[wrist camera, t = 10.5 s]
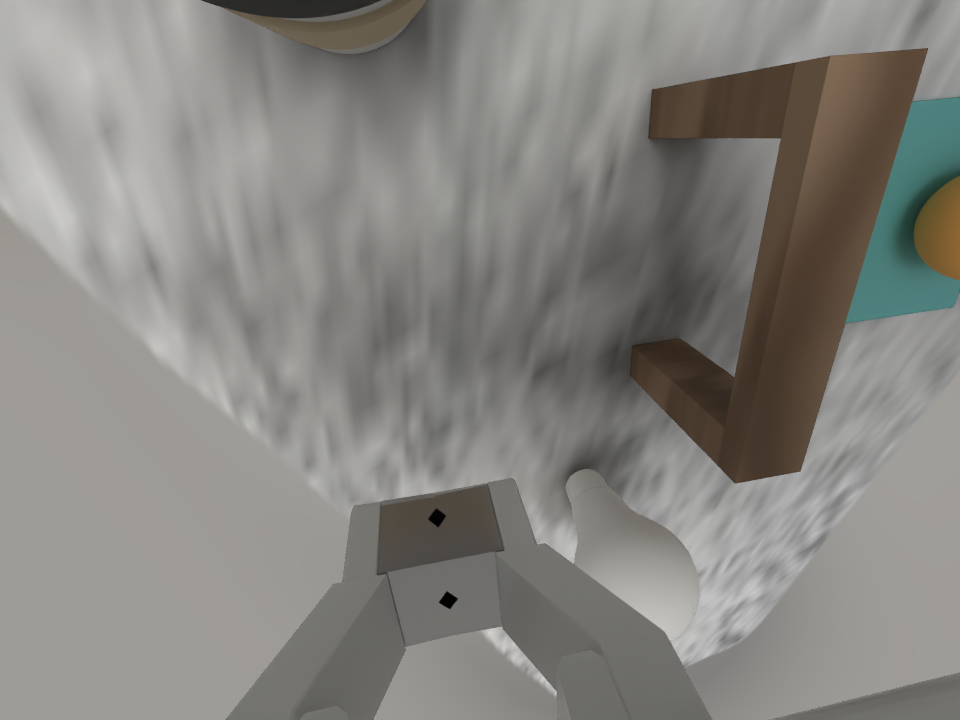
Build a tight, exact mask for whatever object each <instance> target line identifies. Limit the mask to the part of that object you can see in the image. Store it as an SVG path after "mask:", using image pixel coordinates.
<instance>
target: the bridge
mask: <svg viewBox="0 0 960 720" xmlns="http://www.w3.org/2000/svg"><path fill="white" fill-rule="evenodd" d="M927 51H928V48H924V49H912V50H899V51H887V52H874V53H862V54H849V55H837V56H828V57H822V58H817V59H812V60H807V61H801V62H796V63H791V64H785V65H780V66H775V67H770V68H764V69H759V70H754V71H748V72H743V73H738V74H732V75H727V76H722V77H717V78H711V79H706V80H701V81H695V82H690V83H685V84H680V85H674V86H669V87H664V88H658V89H653V90H652V101H651V114H650V127H649V138H781V141H780V146H779V151H778V157H777V162H776V167H775V172H774V177H773V182H772V187H771V192H770V198H769V203H768V208H767V213H766V218H765V223H764V228H763V233H762V239H761V244H760V249H759V254H758V259H757V264H756V269H755V275H754V280H753V285H752V290H751V295H750V300H749V305H748V310H747V316H746V321H745V326H744V331H743V336H742V341H741V346H740V351H739V357H738V362H737V367H736V372H735V377H733V376H732V375H730V374H729V373H728V372H726V371H725V370H723V369H722V368H721V367H719V366H718V365H716V364H715V363H714V362H712V361H711V360H709V359H708V358H707V357H705V356H704V355H702V354H701V353H700V352H698V351H697V350H695V349H694V348H693V347H691V346H690V345H688V344H687V343H686V342H684V341H683V340H681V339H676V340H669V341H662V342H656V343H649V344H642V345H635V346H633V347H632V360H631V373H630V376H631V377H632V378H633V379H634V380H635V381H636V382H637V383H638V384H639V385H640V386H641V387H642V388H643V389H644V390H645V391H646V392H647V393H648V394H649V395H650V396H651V397H652V399H653V400H654V401H655V402H656V403H657V404H658V405H659V406H660V407H661V408H662V409H663V410H664V411H665V412H666V413H667V414H668V415H669V416H670V417H671V418H672V419H673V420H674V421H675V422H676V423H677V424H678V425H679V426H680V427H681V428H682V429H683V430H684V431H685V432H686V433H687V435H688V436H689V437H690V438H691V439H692V440H693V441H694V442H695V443H696V444H697V445H698V446H699V447H700V448H701V449H702V450H703V451H704V452H705V453H706V454H707V455H708V456H709V457H710V458H711V459H712V460H713V461H714V462H715V463H716V464H717V465H718V466H719V467H720V468H721V469H722V470H723V472H724V473H725V474H726V475H727V476H728V477H729V478H730V479H731V480H732V481H733V482H734V483H741V482H746V481H751V480H757V479H762V478H767V477H773V476H778V475H784V474H789V473H794V472H800V471H801V468H802V465H803V461H804V458H805V455H806V452H807V448H808V445H809V442H810V438H811V435H812V432H813V428H814V425H815V422H816V418H817V415H818V412H819V408H820V405H821V402H822V399H823V395H824V392H825V389H826V385H827V382H828V379H829V375H830V372H831V369H832V365H833V362H834V359H835V355H836V352H837V349H838V346H839V342H840V339H841V336H842V332H843V329H844V326H845V322H846V319H847V316H848V312H849V309H850V306H851V302H852V299H853V296H854V293H855V289H856V286H857V283H858V279H859V276H860V273H861V269H862V266H863V263H864V259H865V256H866V253H867V249H868V246H869V243H870V239H871V236H872V233H873V230H874V226H875V223H876V220H877V216H878V213H879V210H880V206H881V203H882V200H883V196H884V193H885V190H886V186H887V183H888V180H889V177H890V173H891V170H892V167H893V163H894V160H895V157H896V153H897V150H898V147H899V143H900V140H901V137H902V133H903V130H904V127H905V124H906V120H907V117H908V114H909V110H910V107H911V104H912V100H913V97H914V94H915V90H916V87H917V84H918V80H919V77H920V74H921V71H922V67H923V64H924V61H925V57H926V54H927Z"/></svg>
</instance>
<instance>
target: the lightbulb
mask: <svg viewBox="0 0 960 720" xmlns="http://www.w3.org/2000/svg"><path fill="white" fill-rule="evenodd" d="M566 492H567V495H568V498H569V500H570V504H571V505H572V516H573V519H574V522H575V525H576V529H577V534H578V544H577V548H576V553H575V561H574V565H575V566H577V567H578V568H579V569H581V570H582V571H583V572H585V573H586V574H587V575H589V576H590V577H592V578H593V579H594V580H596V581H597V582H598V583H600V584H601V585H602V586H604V587H605V588H606V589H608V590H609V591H610V592H612V593H613V594H615V595H616V596H617V597H619V598H620V599H621V600H623V601H624V602H625V603H627V604H628V605H629V606H631V607H632V608H633V609H635V610H636V611H638V612H639V613H640V614H642V615H643V616H644V617H646V618H647V619H648V620H650V621H651V622H652V623H654V624H655V625H656V626H658V627H659V628H661V629H662V630H663V631H665V633H666V635H667V637H668V639H669V641H670V642H671V641H672V640H674V639H676V638H677V637H678V636H680V635H681V634H682V633H683V632H684V631H685V630H686V629H687V627H688V626H689V625H690V623H691V621H692V620H693V618H694V616H695V614H696V610H697V606H698V601H699V579H698V575H697V571H696V568H695V565H694V563H693V561H692V558H691V556H690V554H689V552H688V550H687V549H686V548H685V546H684V545H683V544H682V542H681V541H680V540H679V539H678V538H677V537H676V536H675V535H674V534H673V533H672V532H670V531H669V530H668V529H666V528H665V527H663V526H662V525H660V524H658V523H656V522H654V521H653V520H651V519H649V518H647V517H644V516H642V515H640V514H637V513H636V512H634V511H633V510H632V509H630V508H629V507H628V506H627V505H626V504H625V503H624V502H623V500H622V499H621V498H620V496H619V495H618V494H617V493H616V492H615V491H614V490H612V489H610V487H609V486H608V485H607V483H606V482H605V480H604V479H603V477H602V476H601V475H600V474H599V473H598V472H597V471H595V470H591V469H583V470H579V471H577V472H575V473H574V474H572V475H571V476H570V478H569V479H568V481H567V483H566Z"/></svg>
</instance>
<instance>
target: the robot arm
mask: <svg viewBox="0 0 960 720" xmlns="http://www.w3.org/2000/svg"><path fill="white" fill-rule="evenodd" d="M502 626H503V630H504V631H505V632H506V633H507V634H508V635H509V637H510V638H511V639H512V640H513V641H514V642H515V644H516V645H517V646H518V647H519V648H520V649H521V651H522V652H523V653H524V654H525V655H526V656H527V657H528V659H529V660H530V661H531V662H532V663H533V664H534V666H535V667H536V668H537V669H538V670H539V671H540V673H541V674H542V675H543V676H544V677H545V678H546V679H547V681H548V682H549V683H550V684H551V685H552V686H553V688H554V689H555V690H556V691H557V720H712V718H711V716H710V715H709V713H708V711H707V709H706V707H705V705H704V703H703V702H702V700H701V698H700V696H699V694H698V692H697V691H696V689H695V687H694V685H693V683H692V681H691V679H690V678H689V676H688V674H687V672H686V670H685V668H684V666H683V665H682V663H681V661H680V659H679V657H678V655H677V653H676V652H675V650H674V648H673V646H672V644H671V642H670V641H669V639H668V637H667V635H666V633H665V631H663V630H662V629H661V628H659V627H658V626H656V625H655V624H654V623H652V622H651V621H650V620H648V619H647V618H646V617H644V616H643V615H642V614H640V613H639V612H638V611H636V610H635V609H633V608H632V607H631V606H629V605H628V604H627V603H625V602H624V601H623V600H621V599H620V598H619V597H617V596H616V595H615V594H613V593H612V592H610V591H609V590H608V589H606V588H605V587H604V586H602V585H601V584H600V583H598V582H597V581H596V580H594V579H593V578H592V577H590V576H589V575H587V574H586V573H585V572H583V571H582V570H581V569H579V568H578V567H577V566H575V565H574V564H573V563H571V562H570V561H569V560H567V559H566V558H564V557H563V556H562V555H560V554H559V553H558V552H556V551H555V550H554V549H552V548H551V547H550V546H548V545H547V544H546V543H544V544H538V545H537V543H536V540H535V537H534V534H533V531H532V529H531V526H530V523H529V520H528V517H527V514H526V511H525V508H524V505H523V502H522V500H521V497H520V494H519V491H518V488H517V485H516V482H515V480H513V479H512V478H509V479H504V480H499V481H494V482H488V483H487V484H486V483H485V484H480V485H474V486H469V487H463V488H458V489H453V490H447V491H442V492H436V493H431V494H424V495H417V496H411V497H404V498H397V499H391V500H384V501H382V502H375V503H368V504H361V505H355V506H354V507H353V509H352V512H351V517H350V525H349V533H348V541H347V549H346V556H345V565H344V572H343V580H342V582H341V583H337V584H333V585H332V586H331V588H330V589H329V590H328V591H327V593H326V594H325V595H324V597H323V598H322V599H321V600H320V601H319V603H318V604H317V605H316V606H315V608H314V609H313V610H312V612H311V613H310V614H309V615H308V617H307V618H306V619H305V620H304V622H303V623H302V624H301V625H300V627H299V628H298V629H297V630H296V632H295V633H294V634H293V636H292V637H291V638H290V639H289V640H288V642H287V643H286V644H285V646H284V647H283V648H282V649H281V651H280V652H279V653H278V654H277V656H276V657H275V658H274V659H273V661H272V662H271V663H270V665H269V666H268V667H267V668H266V670H265V671H264V672H263V673H262V674H261V676H260V677H259V678H258V680H257V681H256V682H255V683H254V685H253V686H252V687H251V688H250V690H249V691H248V692H247V693H246V695H245V696H244V697H243V698H242V700H241V701H240V702H239V703H238V705H237V706H236V707H235V708H234V710H233V711H232V712H231V714H230V715H229V716H228V718H227V719H226V720H373V719H374V717H375V715H376V712H377V710H378V708H379V706H380V704H381V702H382V699H383V698H384V695H385V693H386V691H387V689H388V687H389V685H390V682H391V681H392V678H393V676H394V674H395V672H396V670H397V668H398V666H399V664H400V661H401V659H402V657H403V655H404V653H405V651H406V649H405V647H406V646H411V645H415V644H419V643H423V642H427V641H431V640H435V639H439V638H444V637H448V636H452V635H457V634H463V633H468V632H474V631H479V630H485V629H490V628H496V627H502ZM771 720H960V672H959V673H955V674H951V675H947V676H943V677H939V678H935V679H931V680H927V681H923V682H919V683H916V684H912V685H907V686H903V687H899V688H895V689H891V690H887V691H883V692H879V693H875V694H871V695H867V696H863V697H859V698H855V699H851V700H847V701H843V702H839V703H835V704H831V705H827V706H823V707H819V708H815V709H811V710H807V711H803V712H799V713H795V714H791V715H787V716H783V717H779V718H775V719H771Z"/></svg>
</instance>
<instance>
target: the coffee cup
mask: <svg viewBox="0 0 960 720" xmlns="http://www.w3.org/2000/svg"><path fill="white" fill-rule="evenodd" d="M202 1H205V2H208V3H211V4H214V5H217V6H220V7H222V8H224V9H226V10H228V11H230V12H233V13H235V14H237V15H239V16H241V17H244V18H246V19H248V20H250V21H252V22H255V23H257V24H259V25H261V26H263V27H266V28H268V29H270V30H272V31H274V32H277V33H279V34H281V35H283V36H286V37H288V38H290V39H292V40H295V41H297V42H300V43H303V44H306V45H309V46H313V47H317V48H319V49H322V50H325V51H329V52H333V53H339V54H360V53H365V52H369V51H373V50H375V49H378V48H380V47H382V46H384V45H386V44H387V43H389V42H390V41H392V40H393V39H395V38H396V37H397V36H398V35H399V34H400V33H401V32H402V31H403V30H404V29H405V28H406V27H407V25H408V24H409V23H410V21H411V20H412V19H413V18H414V16H415V15H416V14H417V13H418V12H419V11H420V10H421V8H422V7H423V6H424V4H425V3H426V1H427V0H202Z"/></svg>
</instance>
